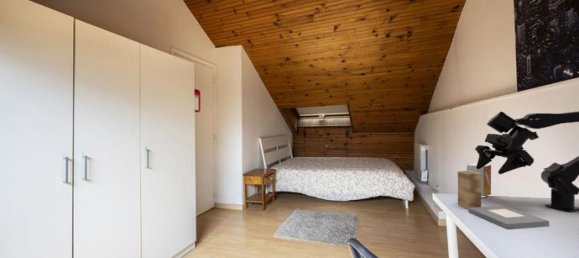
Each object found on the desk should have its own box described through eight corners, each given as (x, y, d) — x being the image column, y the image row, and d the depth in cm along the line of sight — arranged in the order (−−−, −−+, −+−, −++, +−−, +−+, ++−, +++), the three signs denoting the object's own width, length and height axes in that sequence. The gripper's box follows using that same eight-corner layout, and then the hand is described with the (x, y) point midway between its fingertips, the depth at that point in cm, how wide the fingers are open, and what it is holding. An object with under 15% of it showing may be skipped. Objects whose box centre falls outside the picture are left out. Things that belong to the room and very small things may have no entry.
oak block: (469, 204, 95) (469, 170, 95) (481, 208, 90) (481, 173, 90) (457, 205, 95) (457, 171, 94) (468, 209, 90) (468, 174, 89)
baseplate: (504, 209, 89) (504, 204, 89) (549, 225, 75) (549, 220, 75) (468, 212, 87) (468, 207, 87) (507, 229, 73) (507, 223, 73)
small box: (484, 198, 102) (484, 166, 101) (466, 194, 107) (466, 164, 107) (491, 194, 106) (491, 164, 106) (474, 191, 111) (474, 162, 111)
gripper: (479, 125, 102) (454, 153, 101) (526, 126, 84) (496, 160, 83) (496, 144, 103) (472, 171, 102) (547, 148, 85) (518, 182, 84)
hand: (487, 170), depth 93 cm, fingers open, 9 cm apart
